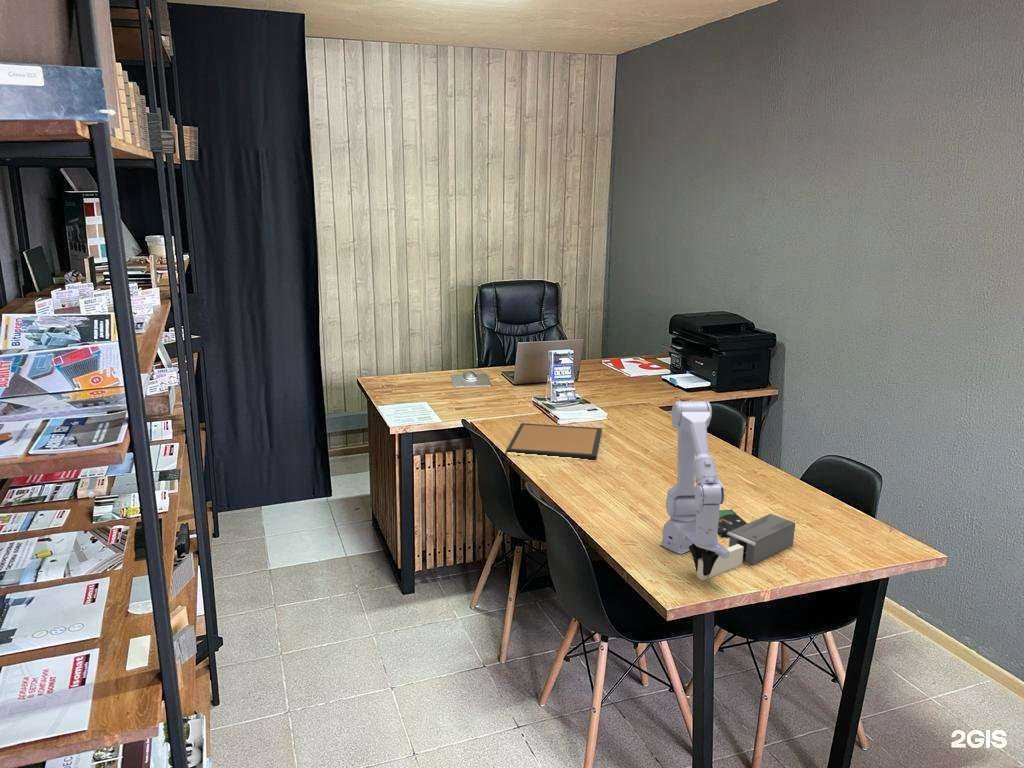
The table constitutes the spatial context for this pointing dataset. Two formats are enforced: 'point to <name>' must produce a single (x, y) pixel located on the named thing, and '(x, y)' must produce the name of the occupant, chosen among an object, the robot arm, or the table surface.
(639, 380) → the table surface
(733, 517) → the disk drive
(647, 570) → the table surface
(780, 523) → the dispenser
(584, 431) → the cork board
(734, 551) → the cream rectangular block
